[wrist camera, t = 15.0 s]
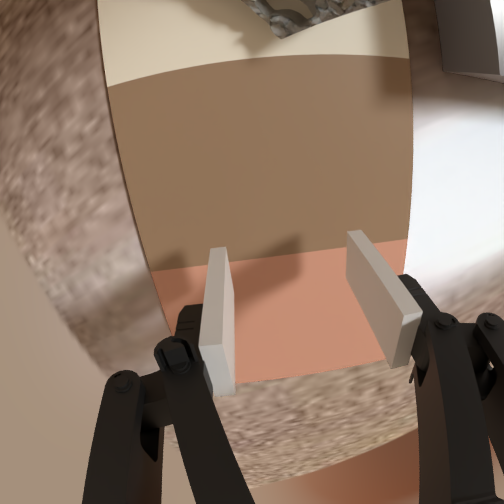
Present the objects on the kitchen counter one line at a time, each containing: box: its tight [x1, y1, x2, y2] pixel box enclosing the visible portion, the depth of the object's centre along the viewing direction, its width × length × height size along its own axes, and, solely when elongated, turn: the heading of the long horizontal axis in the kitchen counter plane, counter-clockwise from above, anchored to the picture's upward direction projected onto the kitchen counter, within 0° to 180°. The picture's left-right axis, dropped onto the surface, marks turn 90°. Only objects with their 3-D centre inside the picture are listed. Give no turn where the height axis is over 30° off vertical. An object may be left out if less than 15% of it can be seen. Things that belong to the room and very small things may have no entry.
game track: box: [97, 0, 413, 383], centre depth 16 cm, size 33×16×1 cm, turn 7°
